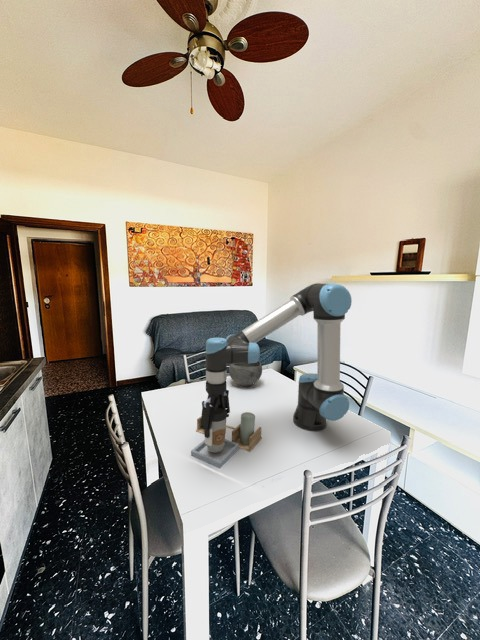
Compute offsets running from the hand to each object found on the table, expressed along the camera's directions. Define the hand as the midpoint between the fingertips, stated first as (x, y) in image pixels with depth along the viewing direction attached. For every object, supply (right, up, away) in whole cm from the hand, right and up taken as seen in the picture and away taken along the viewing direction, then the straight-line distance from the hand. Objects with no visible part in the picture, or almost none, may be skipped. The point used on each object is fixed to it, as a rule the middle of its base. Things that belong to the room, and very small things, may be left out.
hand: (215, 438), depth 99 cm
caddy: (+4, -5, +12) cm, 14 cm away
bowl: (+12, +3, +69) cm, 70 cm away
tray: (0, -6, +1) cm, 6 cm away
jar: (+12, -5, +8) cm, 15 cm away
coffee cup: (0, -4, +1) cm, 4 cm away
